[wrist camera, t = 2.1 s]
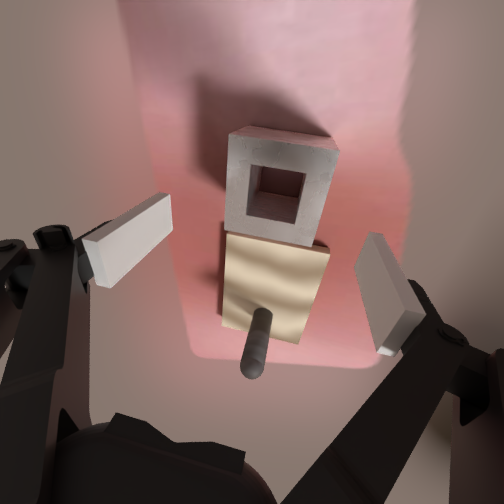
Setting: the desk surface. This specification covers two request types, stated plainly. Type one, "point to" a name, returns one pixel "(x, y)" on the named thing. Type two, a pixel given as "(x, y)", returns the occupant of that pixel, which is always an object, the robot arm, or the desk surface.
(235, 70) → the desk surface
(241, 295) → the board
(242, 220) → the gray cube
